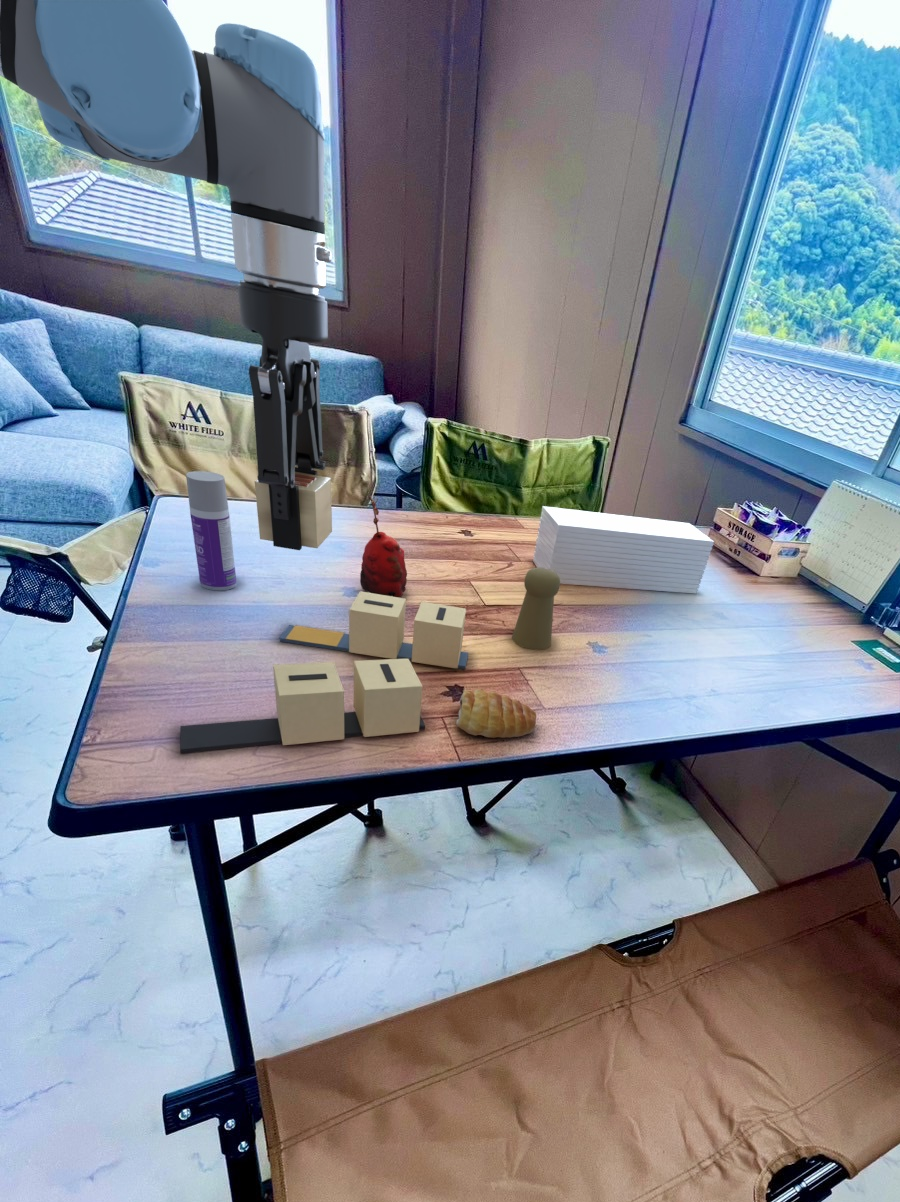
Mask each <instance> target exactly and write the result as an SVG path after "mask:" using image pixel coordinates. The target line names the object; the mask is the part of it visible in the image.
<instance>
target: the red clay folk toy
mask: <svg viewBox="0 0 900 1202" xmlns="http://www.w3.org/2000/svg"><path fill="white" fill-rule="evenodd" d="M367 497H368V499H369V501H370V502H371V503H366V504H365V506H372V510H373V516H374V518H373V522H372V523H373V524H374V525H375V528H376V532H375V533H374V534H373V535H372V537H371V538H370V539H369V540H368V541H367V543H366V544H365V546H364V551H363V553H362V557H361V559H362V562H361V570H360V574H359V576H360V577H359V578H360V579H359V582H360V586H361V588H362V589H363V590H364V591H365V592H368V593H374V594H380V595H386V596H392V597H398V598H402V596H403V593H405V592H406V590H407V589H406V586H407V584H408V583H407V582H408V579H407V576H408V571H407V567H406V561H405V550H404V549H403V548H402V547H401V546H400V544H399V543H398V542H397V539H395V538H394V537H392V536H389V535H387V534H386V532H384V531H379V526H378V522H379V521H380V518H378V517H377V516H379V514H380V511H379V508H377V506H376V505H377V504H376V503H377V502H378V500H379V498H376V500H375V501H374V500H373V498H372V497H371V495H370V494H368V495H367Z"/></svg>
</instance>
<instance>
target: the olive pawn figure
mask: <svg viewBox="0 0 900 1202" xmlns="http://www.w3.org/2000/svg"><path fill="white" fill-rule="evenodd" d="M523 582H524V583H523V585H524V588H525V590H526V591H525V595H524V598H523V600H522V604H521V606H520V607H521V608H520V611H519V612H518V613H519V614H518V615H517V616H518V617H517V619H516V623H515V626H514V629H513V633H512V635H511V640H512V641H513V642H514V643H515V644H516V645H518V646H520V647H522V648H525V649H528V650H537V651H541V650H546V649H548V648H550V647H551V645H552V638H553V637H552V636H553V635H552V634H553V620H554V619H553V618H554V603H555V596H556V595H557V594H558V593H559V591H560V588H561V584H560V578H559V575H558V574H557V573H555V572H554V571H552V570H550V569H546V568H540V567H538V568H537V567H533V568H530V569H529V570H528V571H527V572H526V574H525V576H524V581H523Z"/></svg>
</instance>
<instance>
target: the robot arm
mask: <svg viewBox="0 0 900 1202" xmlns="http://www.w3.org/2000/svg"><path fill="white" fill-rule="evenodd" d="M214 43H215V44H214V47H213V53H209V52H205V51H204V53H203V52H201V51H197V50H194V49H193V50H192V48H191V46H190V44H189V42H188V40H187V37H186V35H185V33H184V31H183V29H182V27H181V25H180V23H179V22H178V20H177V19H176V17H175V16H174V14H173V13H172V11H171V9H170V8H169V7H168V5H167V4H166V3H165V1H164V0H0V77H2V78H4V79H5V80H7V81H9V82H10V83H12V84H14V85H15V86H17V87H18V88H19V89H20V90H22V91H23V92H25V93H27V94H29V95H30V96H32V97H33V98H35V99H36V103H37V106H38V110H39V113H40V115H41V119H42V122H43V125H44V127H45V129H46V132H48V134H49V135H50V136H51V137H52V138H53V139H54V140H55V141H56V142H58V143H59V144H61V145H62V146H65V147H69V148H72V149H75V150H78V151H82V152H86V153H89V154H91V155H92V156H95V157H96V158H101V160H104V161H111V160H115V161H118V162H122V163H127V164H131V165H135V166H138V167H142V168H147V169H151V170H155V171H160V172H163V173H169V174H172V175H177V176H182V177H187V178H190V179H196V180H200V181H203V182H206V183H208V184H212V185H216V186H218V185H220V186H223V187H226V188H227V189H228V193H229V198H230V203H229V204H230V205H229V206H230V212H231V213H230V218H231V233H232V244H233V257H234V266H235V267H234V268H235V269H236V270H237V272H238V273H241V274H243V280H240V281H239V283H237V292H238V303H239V304H238V305H239V314H240V322H241V325H242V326H243V328H244V329H245V330H247V331H248V332H252V333H256V334H259V336H260V337H261V340H262V342H261V355H260V357H259V366H257V365H253V364H250V365H249V367H248V376H249V381H250V387H251V392H252V398H253V399H252V401H253V414H254V415H253V417H254V432H255V446H256V447H255V448H256V461H257V476H256V477H257V479H258V481H259V483H265V484H269V496H270V508H271V521H272V533H273V541H272V542H273V543H272V545H273V547H276V548H282V549H288V550H294V551H295V550H296V551H301V550H302V549H303V546H302V545H301V526H300V508H299V490H298V489H299V486H296V485H294V484H295V472H300V473H305V474H311V475H317V476H318V470H319V471H325V470H326V461H324V460H322V459H323V457H324V451H323V431H322V430H323V429H322V412H321V410H322V409H321V407H322V406H321V390H320V389H321V388H320V379H321V377H320V376H321V362H320V359H318V358H312V357H311V350H310V344H323V343H326V342H327V341H328V339H329V319H328V315H329V314H328V301H327V300H326V298H325V296H323V295H320V289H321V290H323V289H325V288H326V287H327V265H326V263H331V261H332V259H333V255H332V252H331V250H329V249H328V248H325V247H326V235H325V234H326V226H325V223H326V221H325V219H326V218H325V214H326V213H325V155H324V154H325V152H324V151H325V150H324V147H325V146H324V143H325V141H326V134H325V132H324V124H323V123H324V122H323V121H324V120H323V109H322V96H321V81H320V74H319V70H318V67H317V66H316V64H315V62H314V60H313V58H312V57H311V56H310V54H309V53H307V52H306V51H305V50H304V49H303V48H301V47H300V46H299V45H297V44H296V43H293V42H292V41H290V40H288V39H285V38H284V37H281V36H279V35H276V34H274V33H271V32H269V31H265V30H262V29H260V28H259V29H258V28H252V27H249V26H248V25H245V24H239V23H231V22H228V23H227V22H226V23H222V24H220V25H218V26H217V27H216V30H215V33H214Z"/></svg>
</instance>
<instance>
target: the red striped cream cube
mask: <svg viewBox="0 0 900 1202" xmlns="http://www.w3.org/2000/svg"><path fill="white" fill-rule="evenodd" d="M294 485H296V486H299V489H298V490H299V508H300V526H301V545H302V547H306V548H310V549H311V548H313V549H319V547H320V546H321V545H322V544H323V543H324V541H325V540H326V539H327V538H328V537H329V536H330V535H331V534H332V533H333V514H332V513H333V511H332V508H333V507H332V478H331V477H328V476H324V475H323V476H321V475H318V474H317V475H311V474H305V473H300V472H295V484H294ZM254 489H255V491H254V492H255V501H256V502H255V503H256V511H257V512H256V513H257V523H258V533H259V540H263V541H268V542H273V533H272V521H271V508H270V496H269V484H265V483H259V481H258V478H256V479H255V480H254Z"/></svg>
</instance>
